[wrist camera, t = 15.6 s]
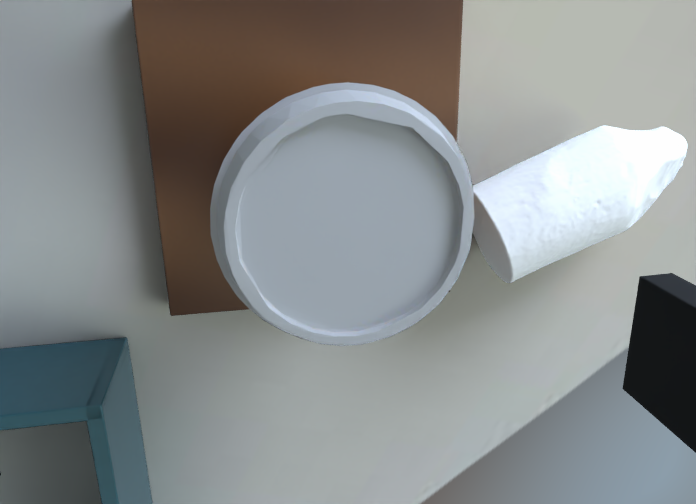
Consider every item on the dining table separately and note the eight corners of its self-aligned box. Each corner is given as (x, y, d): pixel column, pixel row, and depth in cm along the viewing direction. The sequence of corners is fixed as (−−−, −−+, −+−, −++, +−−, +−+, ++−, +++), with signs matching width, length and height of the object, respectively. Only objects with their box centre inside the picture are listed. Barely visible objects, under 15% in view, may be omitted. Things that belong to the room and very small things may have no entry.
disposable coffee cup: (434, 155, 32) (540, 213, 21) (319, 284, 33) (360, 403, 22) (302, 28, 29) (343, 16, 18) (179, 176, 30) (146, 251, 19)
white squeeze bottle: (657, 183, 37) (727, 205, 32) (483, 265, 36) (524, 301, 31) (637, 91, 35) (708, 99, 29) (451, 178, 34) (490, 201, 29)
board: (136, 1, 29) (131, -1, 27) (453, 0, 31) (463, -2, 30) (173, 305, 34) (170, 316, 32) (442, 283, 36) (450, 292, 35)
